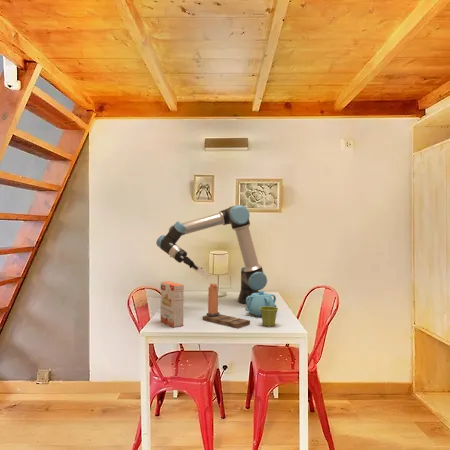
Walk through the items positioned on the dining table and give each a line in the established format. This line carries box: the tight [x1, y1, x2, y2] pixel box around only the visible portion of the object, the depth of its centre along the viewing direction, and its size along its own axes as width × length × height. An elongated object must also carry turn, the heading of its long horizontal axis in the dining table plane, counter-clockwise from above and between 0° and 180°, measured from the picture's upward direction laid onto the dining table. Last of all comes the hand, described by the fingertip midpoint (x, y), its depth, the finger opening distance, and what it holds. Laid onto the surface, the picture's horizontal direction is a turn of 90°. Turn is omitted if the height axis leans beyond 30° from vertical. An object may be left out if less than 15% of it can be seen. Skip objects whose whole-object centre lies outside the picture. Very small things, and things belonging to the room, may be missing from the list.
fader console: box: [202, 313, 251, 329], centre depth 198 cm, size 24×10×2 cm, turn 50°
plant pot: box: [260, 306, 279, 327], centre depth 193 cm, size 9×9×9 cm
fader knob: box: [206, 283, 221, 316], centre depth 204 cm, size 4×6×16 cm, turn 140°
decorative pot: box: [244, 290, 277, 318], centre depth 216 cm, size 16×16×14 cm
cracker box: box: [160, 280, 184, 328], centre depth 193 cm, size 14×6×21 cm, turn 38°
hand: (205, 274), depth 215 cm, fingers open, 13 cm apart
